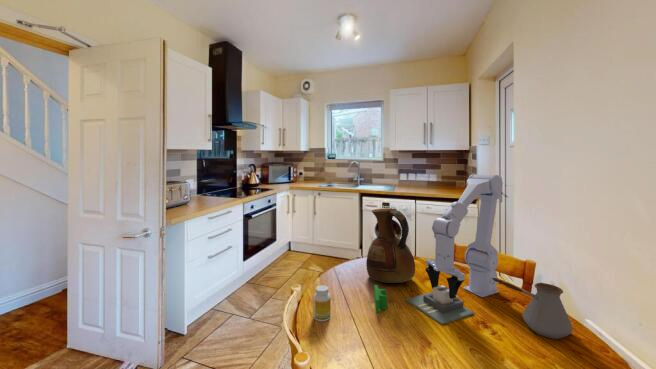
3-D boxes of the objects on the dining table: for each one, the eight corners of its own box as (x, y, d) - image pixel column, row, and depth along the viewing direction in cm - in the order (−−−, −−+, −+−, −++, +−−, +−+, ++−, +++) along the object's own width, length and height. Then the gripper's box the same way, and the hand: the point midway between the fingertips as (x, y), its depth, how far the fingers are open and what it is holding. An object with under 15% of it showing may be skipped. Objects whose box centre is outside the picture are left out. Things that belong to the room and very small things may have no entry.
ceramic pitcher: (382, 266, 130) (383, 203, 127) (423, 279, 116) (425, 208, 113) (356, 279, 115) (356, 208, 113) (399, 295, 102) (401, 214, 99)
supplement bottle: (311, 315, 89) (310, 286, 88) (326, 311, 91) (325, 282, 90) (317, 323, 84) (317, 293, 83) (333, 319, 86) (333, 289, 85)
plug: (442, 301, 97) (442, 284, 96) (452, 307, 93) (453, 290, 92) (432, 304, 95) (433, 287, 95) (442, 310, 91) (443, 292, 91)
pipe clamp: (387, 314, 89) (387, 300, 89) (375, 313, 90) (376, 300, 90) (384, 297, 101) (384, 285, 100) (374, 296, 101) (374, 284, 101)
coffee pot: (554, 320, 85) (557, 273, 84) (583, 345, 74) (587, 291, 73) (480, 315, 88) (482, 270, 87) (497, 338, 77) (500, 286, 76)
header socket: (435, 292, 103) (435, 283, 103) (473, 314, 89) (474, 303, 89) (406, 300, 98) (406, 290, 97) (441, 324, 83) (442, 313, 83)
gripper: (419, 249, 98) (418, 286, 99) (453, 262, 84) (452, 305, 86) (434, 246, 100) (433, 282, 102) (469, 259, 87) (468, 300, 88)
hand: (443, 292), depth 94 cm, fingers open, 7 cm apart
